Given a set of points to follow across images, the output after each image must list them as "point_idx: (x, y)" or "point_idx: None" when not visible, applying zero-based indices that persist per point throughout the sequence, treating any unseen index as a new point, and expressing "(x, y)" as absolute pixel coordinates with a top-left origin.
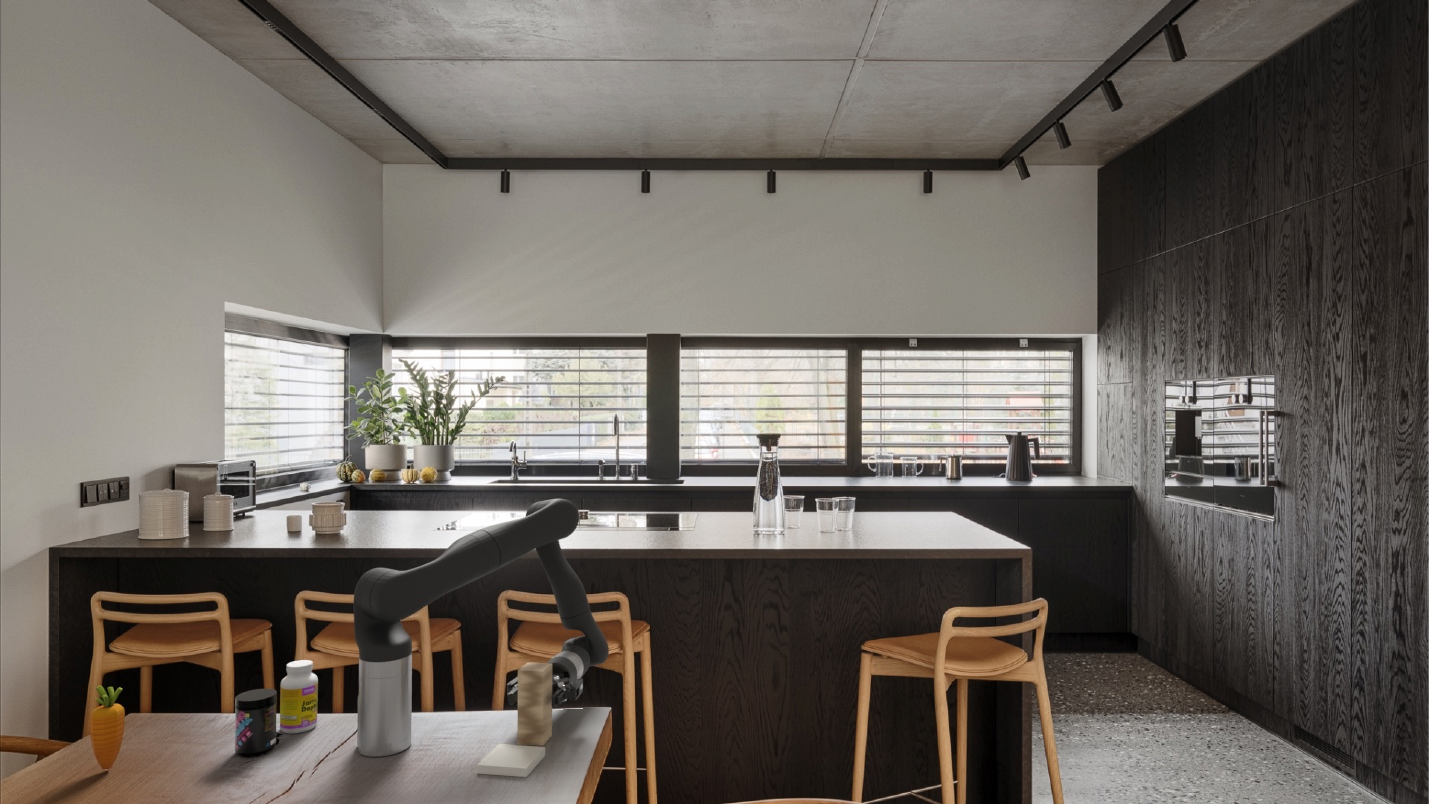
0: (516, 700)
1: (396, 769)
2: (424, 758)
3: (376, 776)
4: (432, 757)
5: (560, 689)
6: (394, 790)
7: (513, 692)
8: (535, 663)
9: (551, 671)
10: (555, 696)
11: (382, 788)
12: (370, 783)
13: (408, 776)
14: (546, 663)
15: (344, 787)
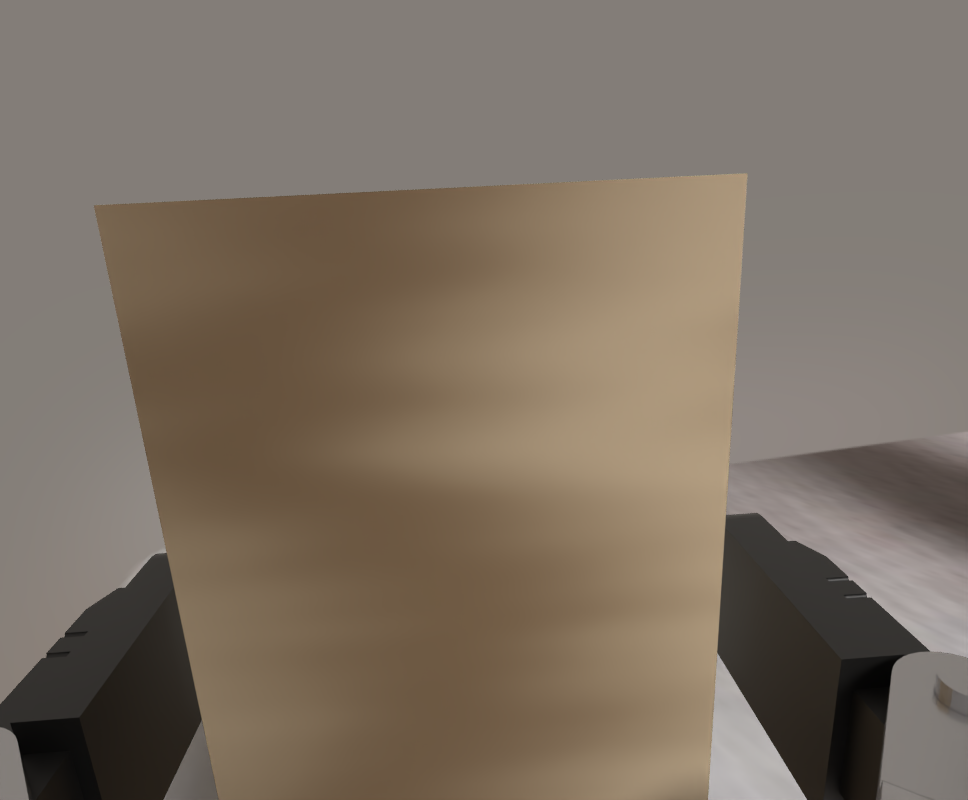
0: (754, 698)
1: (917, 527)
2: (946, 599)
3: (911, 494)
4: (924, 612)
5: (24, 768)
6: (748, 467)
7: (731, 527)
8: (518, 187)
9: (155, 371)
10: (159, 558)
11: (795, 467)
12: (866, 473)
13: (808, 510)
14: (252, 198)
15: (905, 454)
